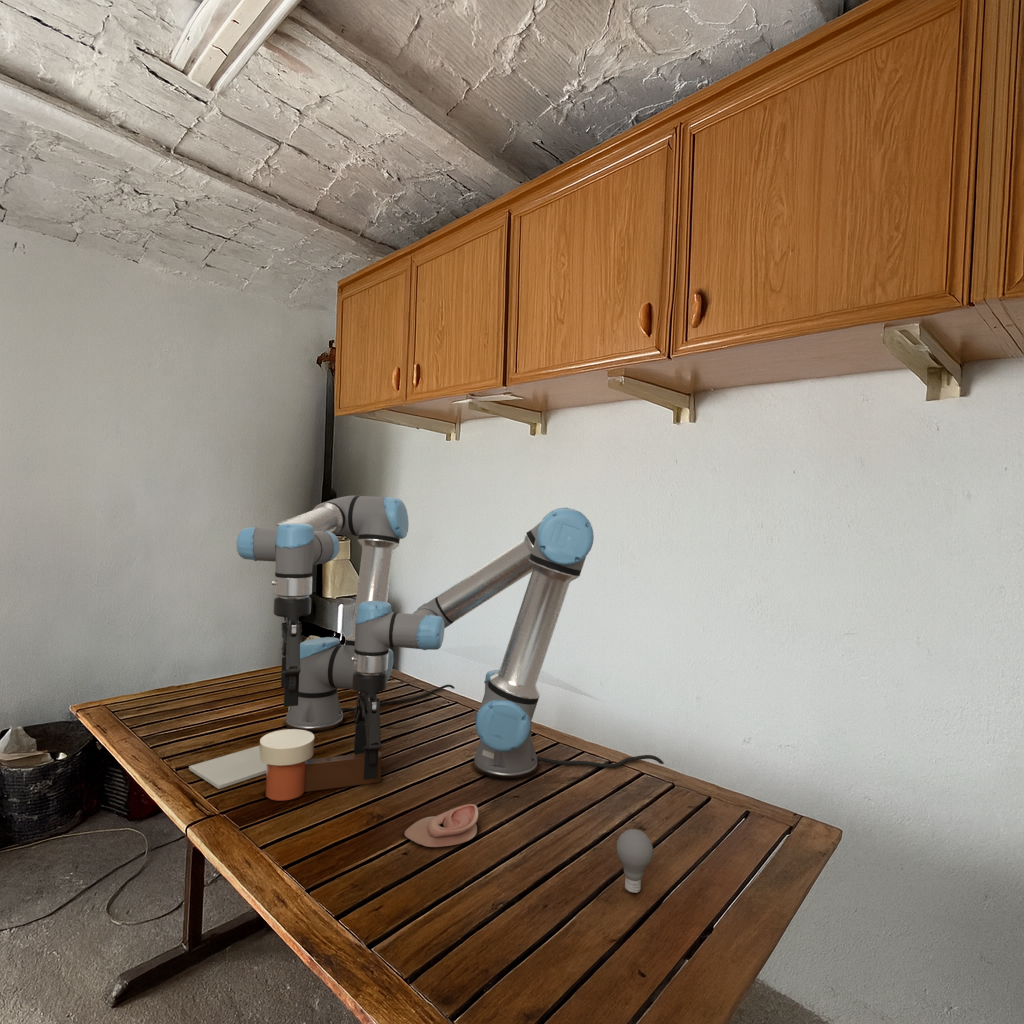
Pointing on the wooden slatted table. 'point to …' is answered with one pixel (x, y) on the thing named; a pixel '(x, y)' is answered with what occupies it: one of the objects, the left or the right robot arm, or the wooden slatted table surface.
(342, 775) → the orange handled cylinder
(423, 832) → the anatomical model
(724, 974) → the wooden slatted table surface
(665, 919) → the wooden slatted table surface
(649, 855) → the light bulb
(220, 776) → the grey mat
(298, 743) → the cap
